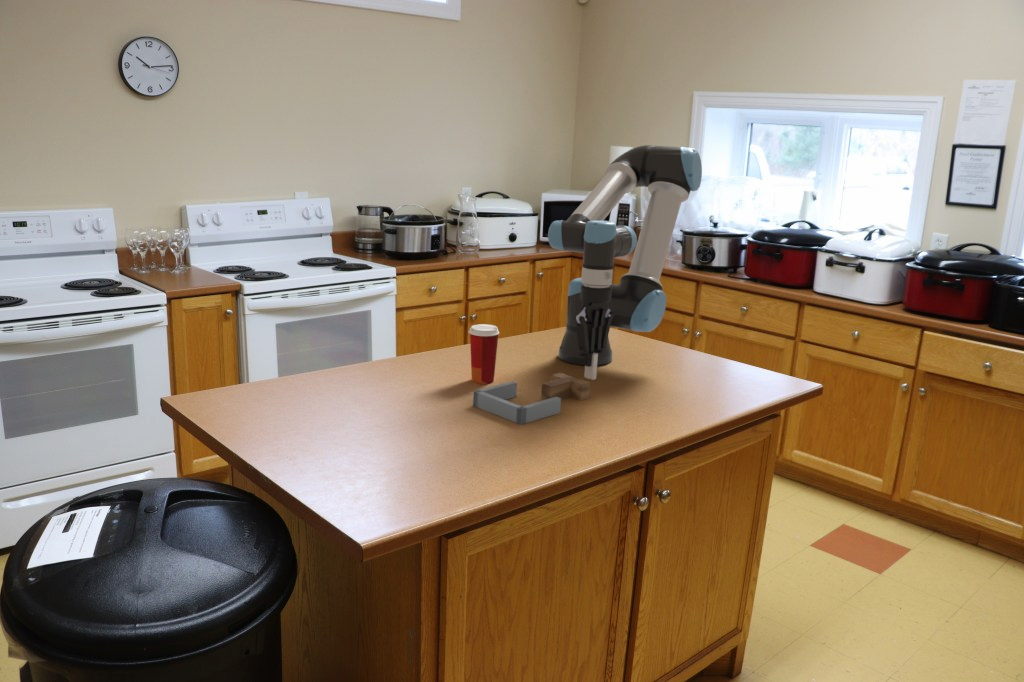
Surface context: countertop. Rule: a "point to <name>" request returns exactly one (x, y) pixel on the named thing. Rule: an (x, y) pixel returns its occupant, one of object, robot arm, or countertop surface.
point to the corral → (497, 404)
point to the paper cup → (483, 352)
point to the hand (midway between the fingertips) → (590, 377)
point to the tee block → (565, 387)
